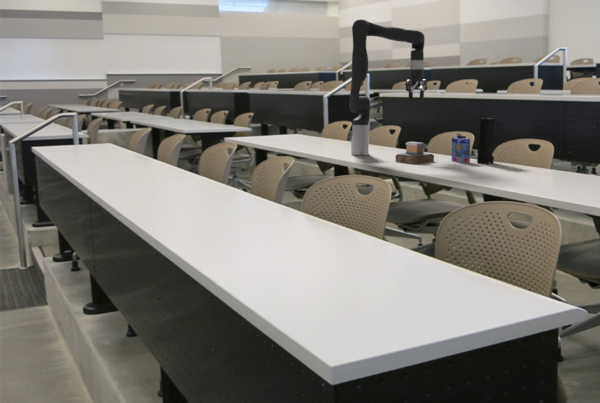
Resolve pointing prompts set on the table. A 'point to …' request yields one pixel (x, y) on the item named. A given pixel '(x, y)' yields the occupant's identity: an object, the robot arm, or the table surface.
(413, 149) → the housing
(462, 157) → the ink cartridge box
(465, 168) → the table surface
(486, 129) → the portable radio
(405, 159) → the walnut stand
